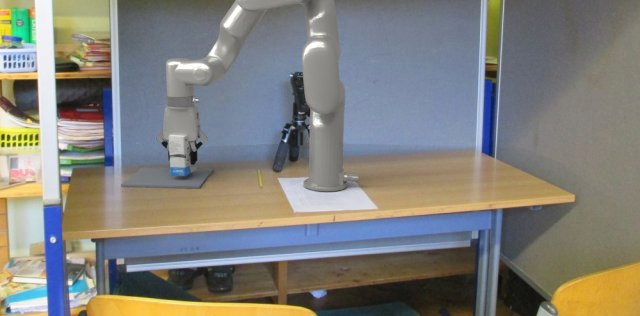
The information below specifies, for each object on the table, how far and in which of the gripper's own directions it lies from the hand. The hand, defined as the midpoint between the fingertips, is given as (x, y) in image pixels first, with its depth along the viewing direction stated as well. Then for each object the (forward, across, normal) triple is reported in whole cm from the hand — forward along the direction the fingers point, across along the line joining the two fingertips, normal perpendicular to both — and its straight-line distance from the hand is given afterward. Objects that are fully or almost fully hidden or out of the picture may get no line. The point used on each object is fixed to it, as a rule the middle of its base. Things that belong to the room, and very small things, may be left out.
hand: (183, 163), depth 191 cm
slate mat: (+5, +4, 0) cm, 6 cm away
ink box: (+3, 0, 0) cm, 3 cm away
